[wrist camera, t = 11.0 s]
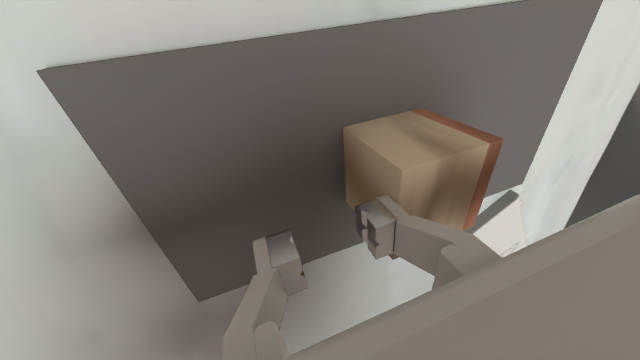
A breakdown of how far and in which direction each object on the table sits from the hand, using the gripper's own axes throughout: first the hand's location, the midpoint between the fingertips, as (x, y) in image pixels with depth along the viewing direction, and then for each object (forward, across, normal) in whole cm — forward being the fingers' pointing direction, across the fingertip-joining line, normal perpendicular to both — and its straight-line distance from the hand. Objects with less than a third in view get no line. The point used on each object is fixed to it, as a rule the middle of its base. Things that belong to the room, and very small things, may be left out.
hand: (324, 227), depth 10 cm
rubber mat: (+5, +6, 0) cm, 8 cm away
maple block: (+2, +3, 0) cm, 3 cm away
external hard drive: (+6, +19, -16) cm, 26 cm away
